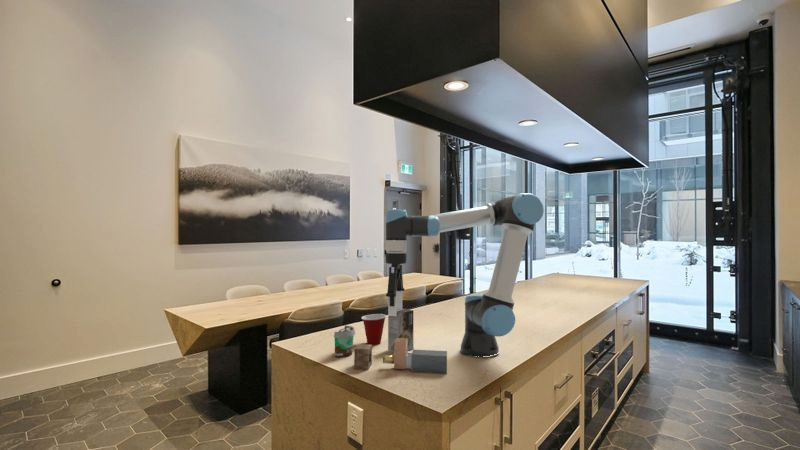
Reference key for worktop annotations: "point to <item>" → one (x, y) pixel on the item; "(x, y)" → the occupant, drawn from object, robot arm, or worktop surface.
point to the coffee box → (400, 328)
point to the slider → (399, 355)
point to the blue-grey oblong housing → (429, 361)
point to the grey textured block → (363, 356)
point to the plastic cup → (374, 328)
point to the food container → (344, 342)
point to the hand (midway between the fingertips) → (395, 312)
